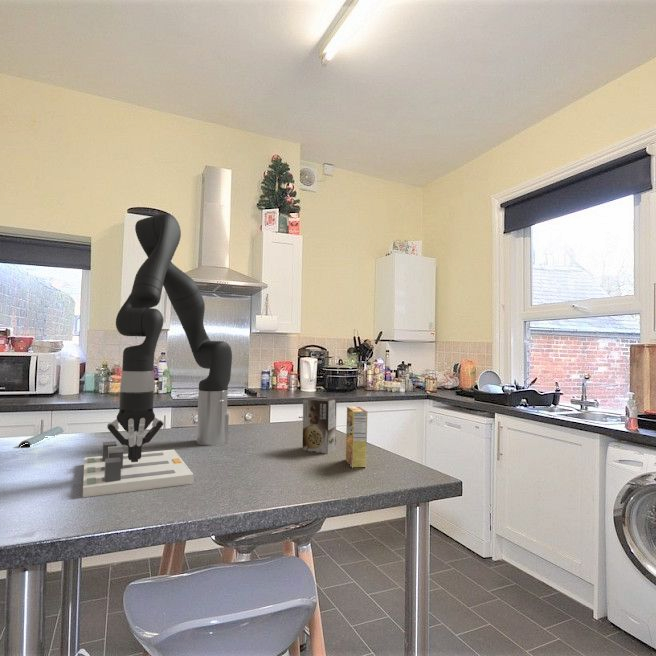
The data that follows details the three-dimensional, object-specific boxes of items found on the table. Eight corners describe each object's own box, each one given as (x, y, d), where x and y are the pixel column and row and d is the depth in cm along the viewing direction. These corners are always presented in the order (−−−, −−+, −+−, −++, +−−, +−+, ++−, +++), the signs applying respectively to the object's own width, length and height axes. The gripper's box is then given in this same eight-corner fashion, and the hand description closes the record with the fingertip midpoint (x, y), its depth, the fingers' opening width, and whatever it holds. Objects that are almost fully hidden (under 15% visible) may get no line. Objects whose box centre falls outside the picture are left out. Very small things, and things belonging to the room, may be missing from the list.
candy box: (344, 460, 124) (345, 406, 124) (359, 459, 125) (360, 406, 125) (351, 468, 115) (352, 411, 116) (367, 468, 116) (368, 410, 116)
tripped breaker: (121, 463, 105) (122, 445, 105) (123, 467, 101) (123, 449, 102) (107, 464, 104) (108, 446, 104) (107, 469, 100) (108, 450, 100)
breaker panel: (173, 458, 121) (174, 435, 122) (193, 485, 99) (194, 456, 99) (83, 467, 111) (85, 441, 111) (82, 500, 88) (84, 467, 88)
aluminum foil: (30, 452, 126) (31, 440, 126) (5, 452, 125) (5, 440, 125) (63, 436, 148) (64, 426, 149) (42, 436, 147) (42, 426, 147)
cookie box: (336, 450, 136) (337, 398, 136) (327, 454, 130) (329, 400, 130) (310, 446, 139) (311, 396, 140) (301, 450, 134) (302, 398, 134)
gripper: (163, 387, 112) (160, 455, 111) (106, 388, 105) (102, 460, 104) (168, 390, 105) (165, 462, 104) (107, 391, 99) (104, 468, 98)
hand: (134, 461), depth 104 cm, fingers closed
